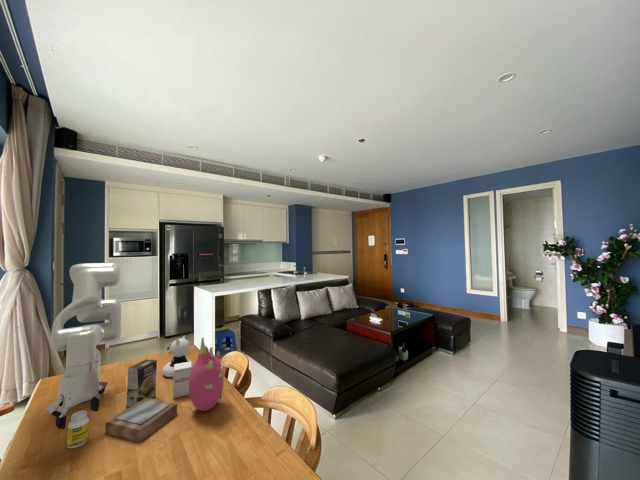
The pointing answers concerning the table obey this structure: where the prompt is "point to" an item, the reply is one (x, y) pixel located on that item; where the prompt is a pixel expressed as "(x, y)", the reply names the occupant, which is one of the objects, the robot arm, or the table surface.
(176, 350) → the decorative figurine
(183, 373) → the supplement box
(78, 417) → the supplement bottle
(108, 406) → the table surface
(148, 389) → the coffee box
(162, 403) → the walnut stand
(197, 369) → the pink dragon fruit
